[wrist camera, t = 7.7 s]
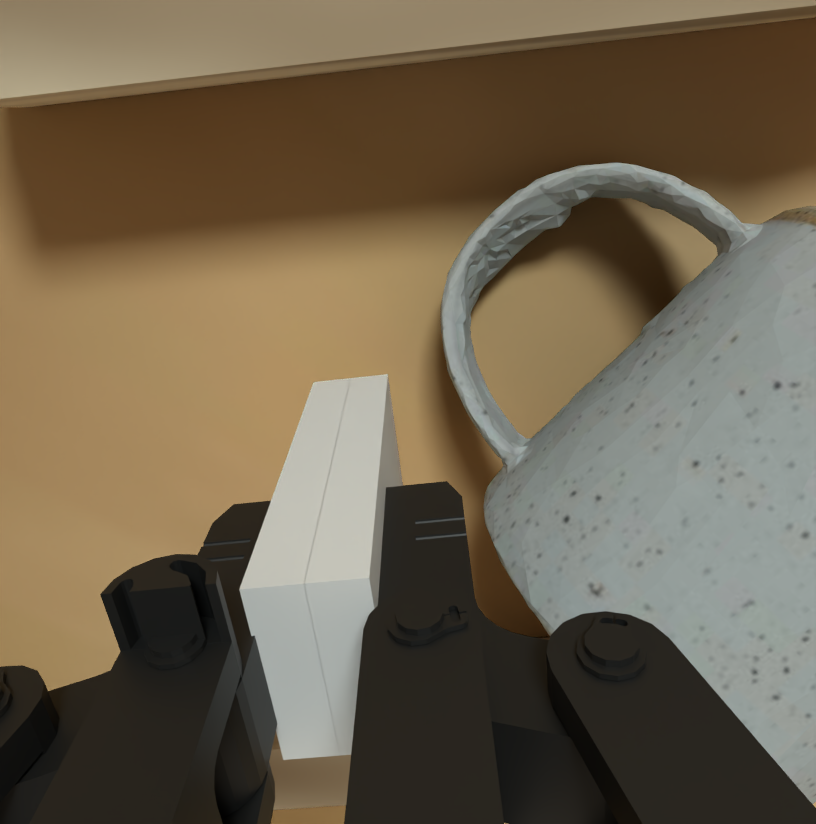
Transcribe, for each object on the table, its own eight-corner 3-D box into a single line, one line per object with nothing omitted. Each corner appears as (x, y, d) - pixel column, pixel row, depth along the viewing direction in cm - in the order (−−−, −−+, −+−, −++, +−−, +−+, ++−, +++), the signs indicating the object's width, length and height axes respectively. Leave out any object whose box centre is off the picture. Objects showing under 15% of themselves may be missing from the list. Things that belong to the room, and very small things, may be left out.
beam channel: (-93, -301, 11) (-469, -605, 6) (1437, -520, 10) (2354, -1081, 5) (205, 720, 20) (140, 913, 15) (1044, 659, 19) (1258, 846, 14)
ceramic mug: (958, 366, 16) (1403, 571, 8) (690, 603, 18) (860, 912, 11) (605, 46, 13) (813, -37, 6) (357, 371, 16) (305, 572, 9)
